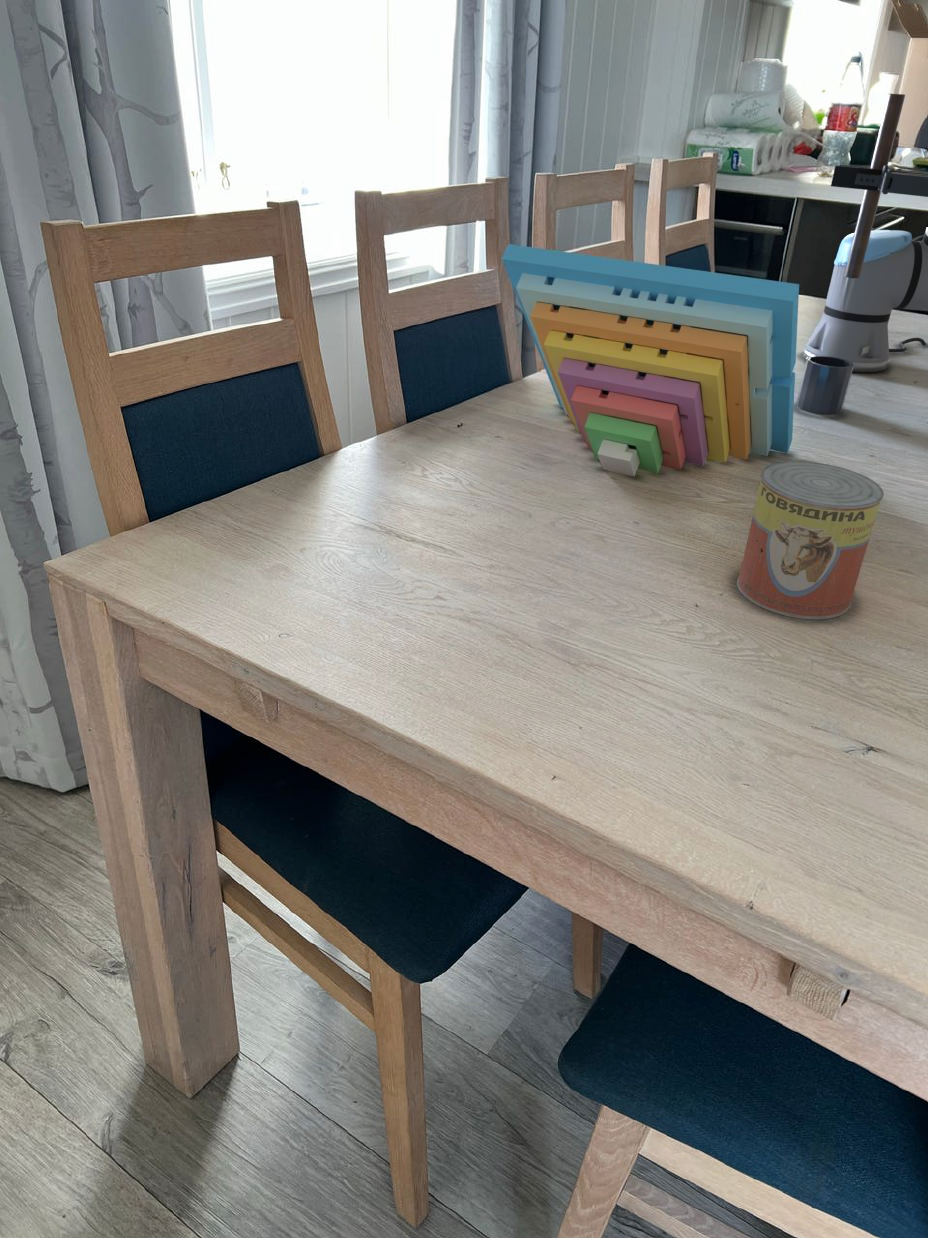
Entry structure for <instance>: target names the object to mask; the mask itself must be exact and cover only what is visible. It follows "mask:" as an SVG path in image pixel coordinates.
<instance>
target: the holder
mask: <svg viewBox="0 0 928 1238" xmlns="http://www.w3.org/2000/svg"><path fill="white" fill-rule="evenodd" d="M853 367H854V364H853V363H852V362H850V361H848V360H845V359H841V358H837V357H830V356H810V357H808V358H807V360H806V359H805V363H804V368H803V373H802V377H801V381H800V386H799V389H798V394H797V398H796V403H795V406H796V407H797V408H798V409H800V410H802V411H804V412H807V413H811V414H816V415H822V416H823V415H824V416H835V415H836V416H837V415H839V414H841V413H842V412H843V409H844V405H845V401H846V398H847V394H848V390H849V386H850V382H851V379H852V375H853V372H852V371H853Z"/></svg>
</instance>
